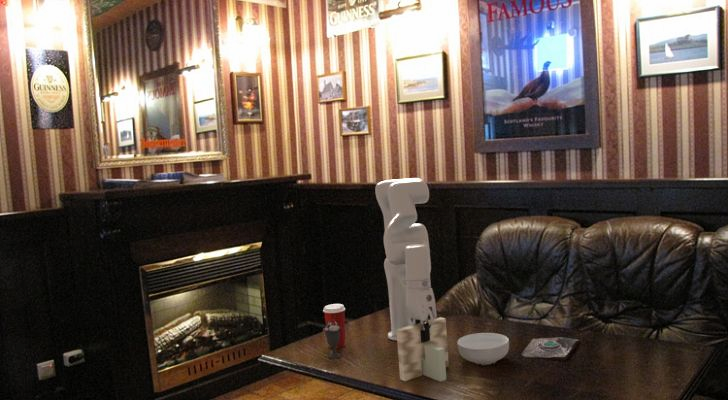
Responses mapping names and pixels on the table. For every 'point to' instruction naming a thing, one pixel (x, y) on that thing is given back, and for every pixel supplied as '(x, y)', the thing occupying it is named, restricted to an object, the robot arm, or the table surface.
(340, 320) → the coffee cup
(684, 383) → the table surface
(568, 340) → the terrain model
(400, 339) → the maple plate
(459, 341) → the cereal bowl
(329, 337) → the sundae
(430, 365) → the sage board
